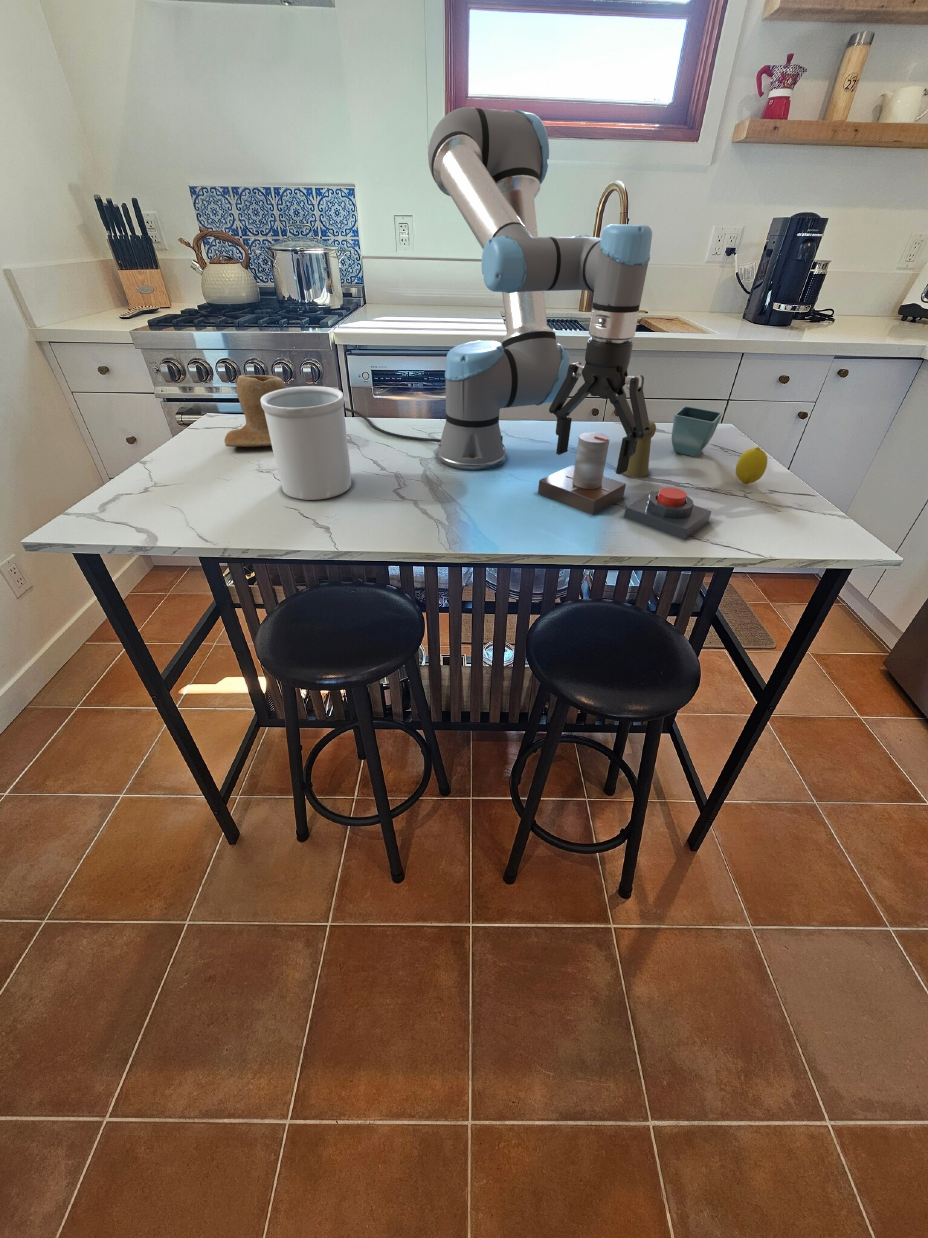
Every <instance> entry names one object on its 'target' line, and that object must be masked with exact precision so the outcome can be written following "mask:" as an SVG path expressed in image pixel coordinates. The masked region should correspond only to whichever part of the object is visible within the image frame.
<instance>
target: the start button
mask: <svg viewBox="0 0 928 1238" xmlns="http://www.w3.org/2000/svg"><path fill="white" fill-rule="evenodd" d="M658 491H659V494H658V498H657V501H658V502H660V503H662V504H664V505H667V506H674V507H678V506H683V505H684V504H685V500H686V497H687V496H688V494H687V492H686V491H685V490H683V489H680V488H677V487H670V486H669V487H667V486H666V487H662V488H659V490H658Z"/></svg>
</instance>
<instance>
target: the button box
mask: <svg viewBox="0 0 928 1238" xmlns="http://www.w3.org/2000/svg"><path fill="white" fill-rule="evenodd" d="M658 494H659V490H657V491H654V490H652V491H650V492H648V493H647V494H645V495H644V496H641V497H640V498H638V499H637V500H635V501H633V502H632V503H630V504H628V505H627V506H626V507H625V509H624V514H623V518H624V519H627V520H629V521H632V522H634V523H638V524H640V525H643V526H645V527H647V528H650V529H654V530H656V531H659V532H661V533H664V534H666V535H669V536H672V537H675V538H677V539H680V540H683V541H684V540H686V539H687V538H688V537H690V536H691V535H693V534H694V533H695V532H697V531H698V530H699V529H701V528H702V527H703V526H704V525H706V524H708V523H709V521H710V518H711V515H712V510H710V509H708V508H707V509H706V508H704V507H702V506H698V505H695V504H694V500H693V499H692V498H691V497H689V496H688V495H687V497H686V500H685V504H684V505H683V506H678V507H674V506H667V505H664V504H662V503H660V502H658V501H657V498H658Z"/></svg>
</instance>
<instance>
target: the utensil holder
mask: <svg viewBox="0 0 928 1238" xmlns="http://www.w3.org/2000/svg"><path fill="white" fill-rule="evenodd" d="M285 388H286V387H285ZM260 401H261V406H262V408H263V410H264V412H265V417H266V421H267V426H268V430H269V435H270V439H271V444H272V446H271V448H272V452H273V458H274V463H275V466H276V470H277V474H278V477H279V482H280V485H281V490H282V491H283V493H284V494H285V495H286V496H288V497H291V498H293V499H298V500H305V501H314V500H315V501H317V500H323V499H324V500H325V499H331V498H334V497H336V496H339V495H341V494H343V493H345V492H347V491H348V490H349V489H350V488H351V486H352V475H351V474H352V473H351V462H350V453H349V445H348V437H347V425H346V416H345V410H344V407H345V406H344V404H345V395H344V393H343V392H342V390H340V389H337V388H333V387H329V386H321V385H320V386H319V385H303V386H293V387H287V388H286V389H280V390H276V391H273V392H270V393H267V394H265V395H264V396H262V397H261V400H260Z"/></svg>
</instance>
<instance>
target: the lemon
mask: <svg viewBox="0 0 928 1238" xmlns="http://www.w3.org/2000/svg"><path fill="white" fill-rule="evenodd" d="M767 467H768V455H767V454H766V453H765V450H763V449H761V447H760V446H756V447H752V448H749V449H747V450H746V451H744V452H743V453H742V454H741V455H740V457H739V459H738V460H737V463H736V466H735V475H736V478H737V479H738V481H740V482H741V483H742V484H743V485H744V486H746V485H748V484H752V483H755V482H757V481H759V480H760V479H761V478H762V477H763V476H764V475H765V472H766V470H767Z"/></svg>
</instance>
